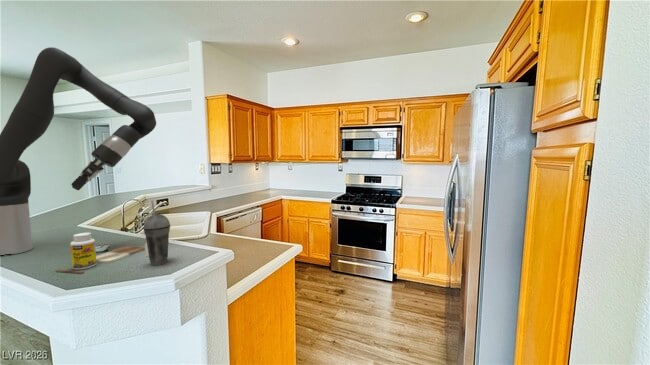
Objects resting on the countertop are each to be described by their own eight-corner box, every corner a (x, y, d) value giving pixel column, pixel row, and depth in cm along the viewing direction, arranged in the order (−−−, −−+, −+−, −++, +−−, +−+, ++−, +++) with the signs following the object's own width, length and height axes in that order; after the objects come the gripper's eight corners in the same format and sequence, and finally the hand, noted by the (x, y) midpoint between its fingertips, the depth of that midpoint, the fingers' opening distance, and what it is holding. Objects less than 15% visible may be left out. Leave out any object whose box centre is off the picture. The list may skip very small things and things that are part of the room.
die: (145, 256, 90) (144, 243, 90) (150, 252, 94) (150, 240, 94) (158, 255, 91) (157, 243, 90) (163, 251, 95) (162, 239, 94)
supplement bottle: (70, 272, 77) (67, 237, 77) (74, 266, 82) (71, 233, 81) (95, 267, 80) (92, 234, 80) (98, 262, 85) (95, 230, 84)
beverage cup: (177, 260, 86) (174, 199, 85) (156, 268, 80) (153, 202, 78) (160, 257, 89) (157, 198, 87) (139, 265, 82) (135, 201, 80)
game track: (55, 271, 77) (55, 269, 77) (125, 247, 100) (125, 245, 100) (81, 273, 76) (81, 271, 76) (146, 248, 98) (146, 247, 98)
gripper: (99, 147, 97) (62, 183, 90) (102, 139, 87) (60, 178, 79) (120, 160, 101) (86, 195, 93) (125, 154, 91) (87, 192, 83)
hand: (74, 187), depth 86 cm, fingers open, 8 cm apart
